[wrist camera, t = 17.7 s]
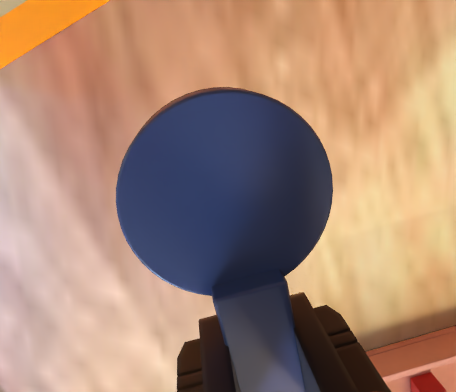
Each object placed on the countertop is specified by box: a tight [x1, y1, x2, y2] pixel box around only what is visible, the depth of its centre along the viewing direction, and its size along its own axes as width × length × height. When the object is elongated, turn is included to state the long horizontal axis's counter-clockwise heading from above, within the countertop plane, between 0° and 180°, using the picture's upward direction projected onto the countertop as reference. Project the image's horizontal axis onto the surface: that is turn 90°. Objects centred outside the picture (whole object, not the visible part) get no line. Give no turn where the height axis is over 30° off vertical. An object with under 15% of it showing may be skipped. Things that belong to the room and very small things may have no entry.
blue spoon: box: [116, 87, 333, 392], centre depth 10 cm, size 14×5×2 cm, turn 12°
